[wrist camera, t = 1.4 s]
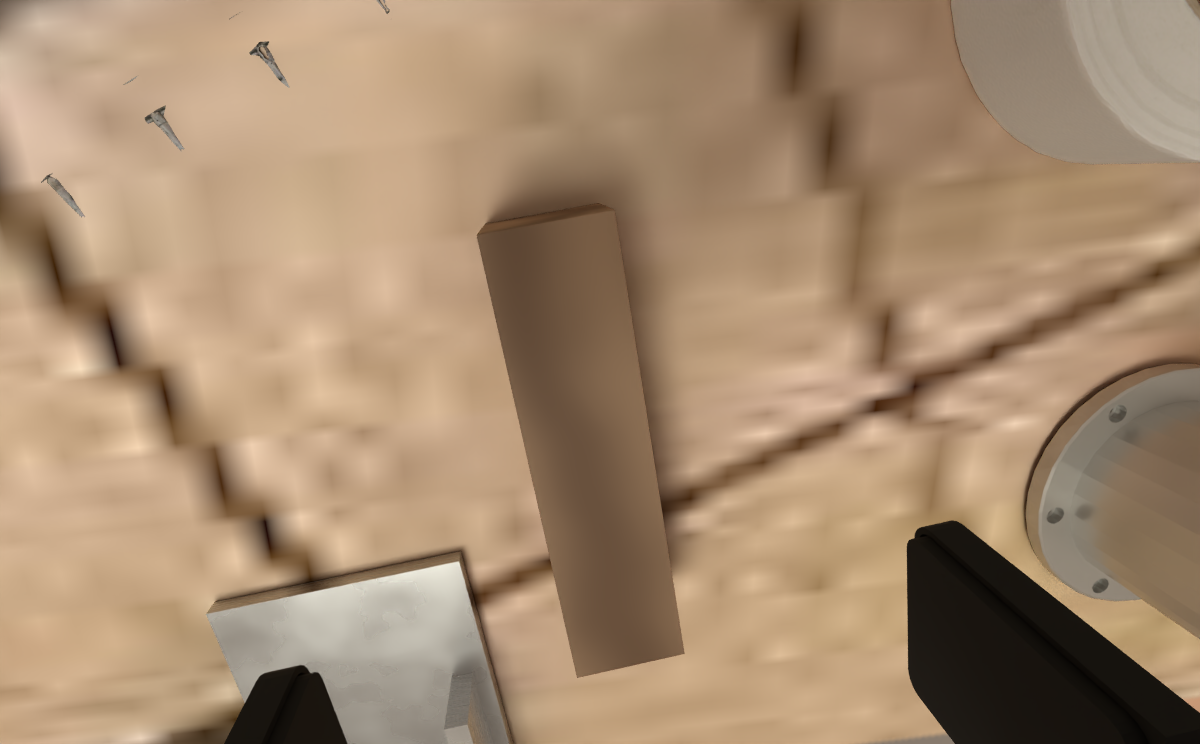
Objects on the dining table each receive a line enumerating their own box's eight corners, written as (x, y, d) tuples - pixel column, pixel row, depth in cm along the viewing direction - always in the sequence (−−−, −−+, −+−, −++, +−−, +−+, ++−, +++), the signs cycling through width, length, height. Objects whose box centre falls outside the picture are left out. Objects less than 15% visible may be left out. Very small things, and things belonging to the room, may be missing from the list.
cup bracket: (460, 550, 29) (451, 604, 25) (522, 778, 33) (522, 851, 30) (214, 602, 28) (169, 665, 25) (310, 826, 33) (284, 908, 29)
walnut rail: (597, 202, 25) (614, 210, 21) (659, 579, 31) (684, 653, 26) (485, 223, 25) (476, 235, 20) (569, 599, 31) (577, 677, 26)
